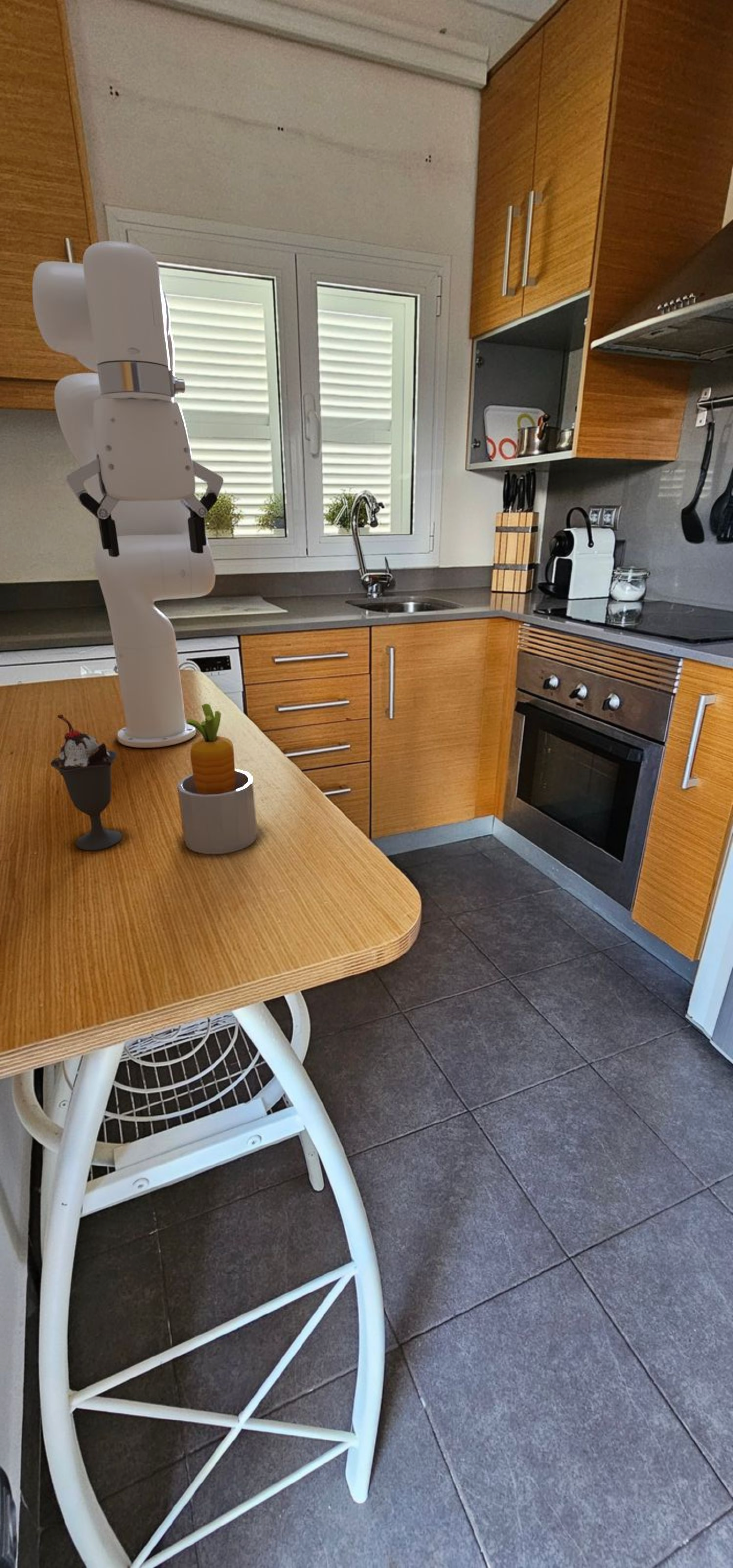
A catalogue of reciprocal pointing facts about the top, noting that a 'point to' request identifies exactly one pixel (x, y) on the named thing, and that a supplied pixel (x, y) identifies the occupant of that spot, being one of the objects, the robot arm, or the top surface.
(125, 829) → the top surface
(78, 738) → the sundae
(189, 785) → the gray cup
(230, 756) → the carrot
